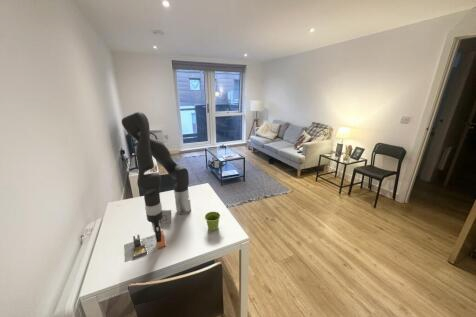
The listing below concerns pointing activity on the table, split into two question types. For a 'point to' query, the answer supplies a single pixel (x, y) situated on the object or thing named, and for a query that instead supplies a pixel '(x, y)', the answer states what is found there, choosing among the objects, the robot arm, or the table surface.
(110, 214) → the table surface
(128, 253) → the panel
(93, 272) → the table surface
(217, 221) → the plant pot
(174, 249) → the table surface
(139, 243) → the breaker slider
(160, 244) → the cap
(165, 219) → the electrical switch
